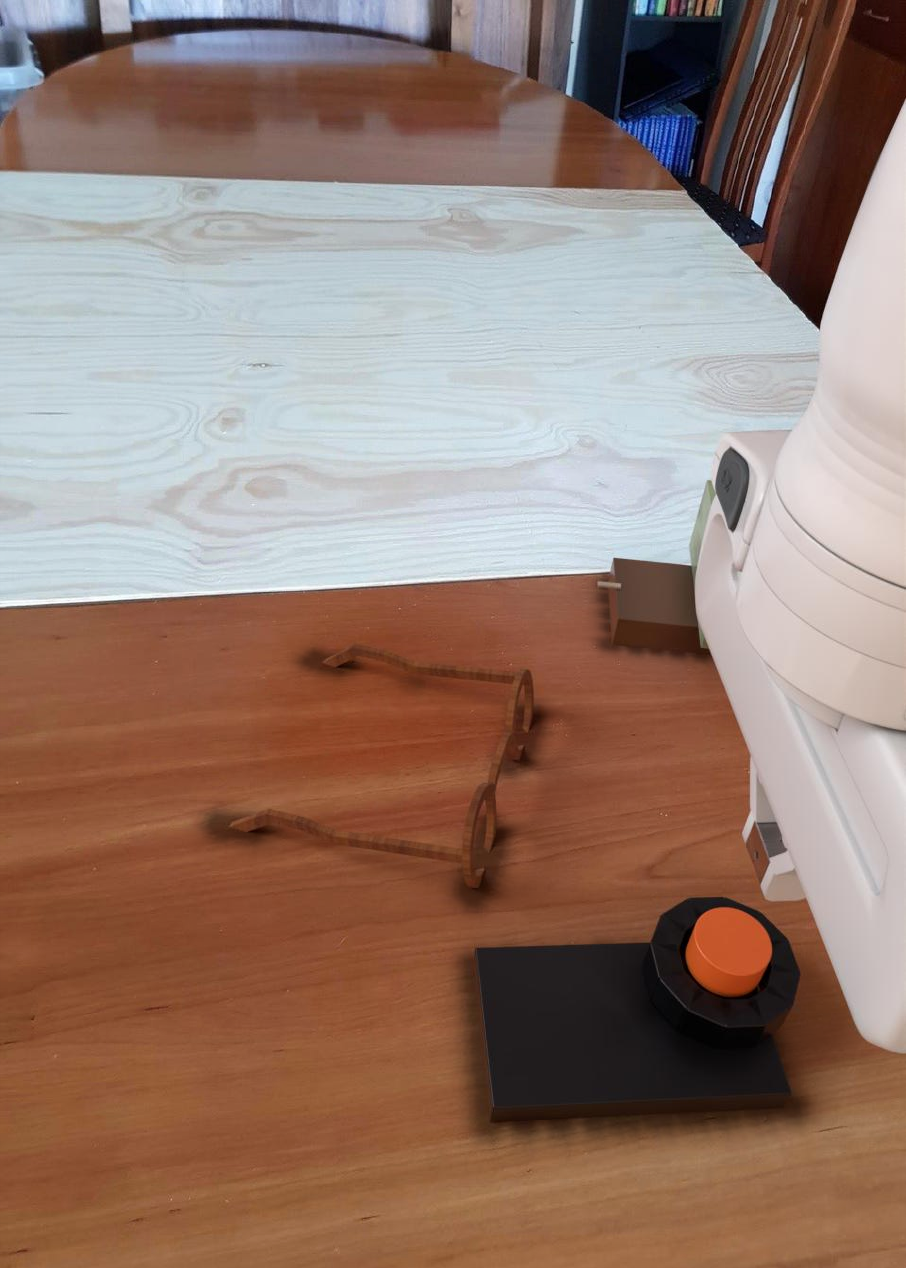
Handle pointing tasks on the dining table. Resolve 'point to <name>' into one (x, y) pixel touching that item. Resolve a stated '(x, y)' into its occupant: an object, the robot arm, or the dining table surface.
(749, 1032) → the control block
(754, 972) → the button
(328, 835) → the glasses
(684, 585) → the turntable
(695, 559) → the green battery pack
